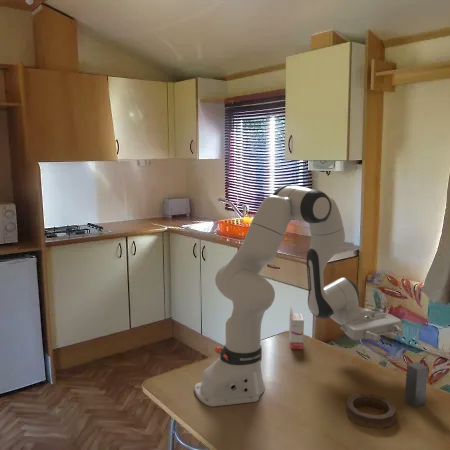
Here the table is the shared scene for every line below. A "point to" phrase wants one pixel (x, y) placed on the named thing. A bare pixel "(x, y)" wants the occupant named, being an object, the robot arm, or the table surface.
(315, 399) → the table surface
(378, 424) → the walnut ring
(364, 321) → the robot arm
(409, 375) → the metal peg
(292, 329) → the ink cartridge box
